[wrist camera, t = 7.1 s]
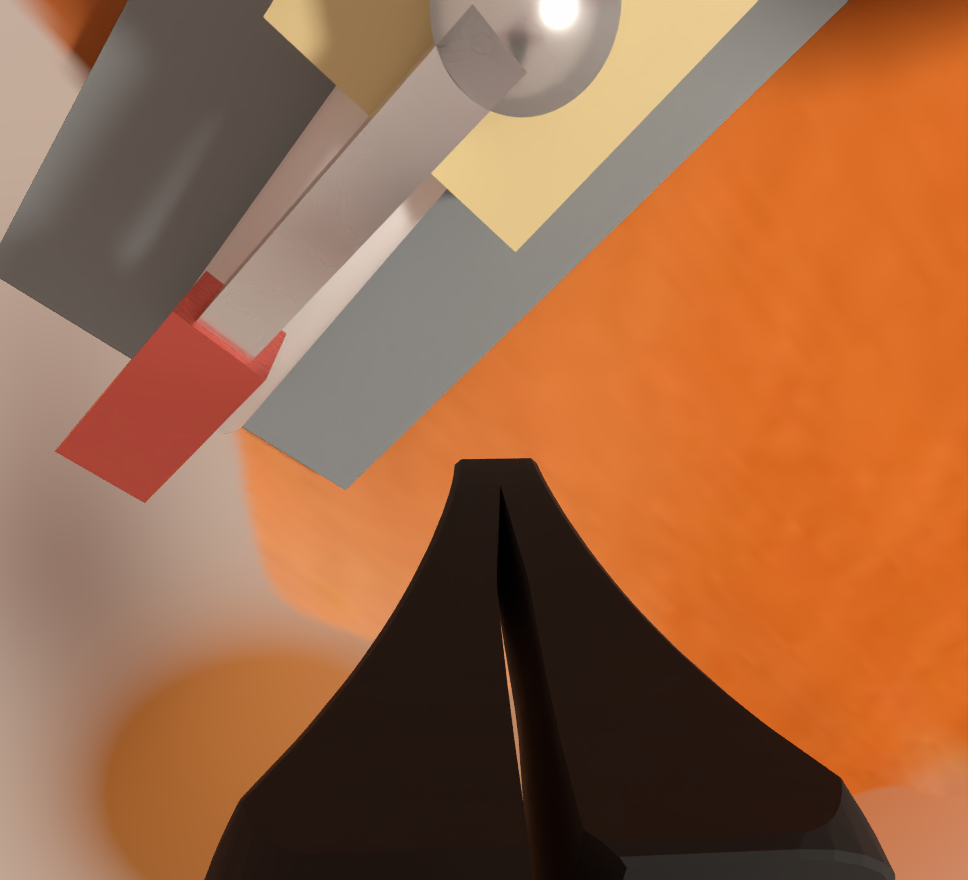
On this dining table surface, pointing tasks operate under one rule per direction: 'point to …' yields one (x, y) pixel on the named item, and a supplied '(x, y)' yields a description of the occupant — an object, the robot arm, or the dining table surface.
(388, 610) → the dining table surface
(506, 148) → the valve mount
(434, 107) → the valve lever
